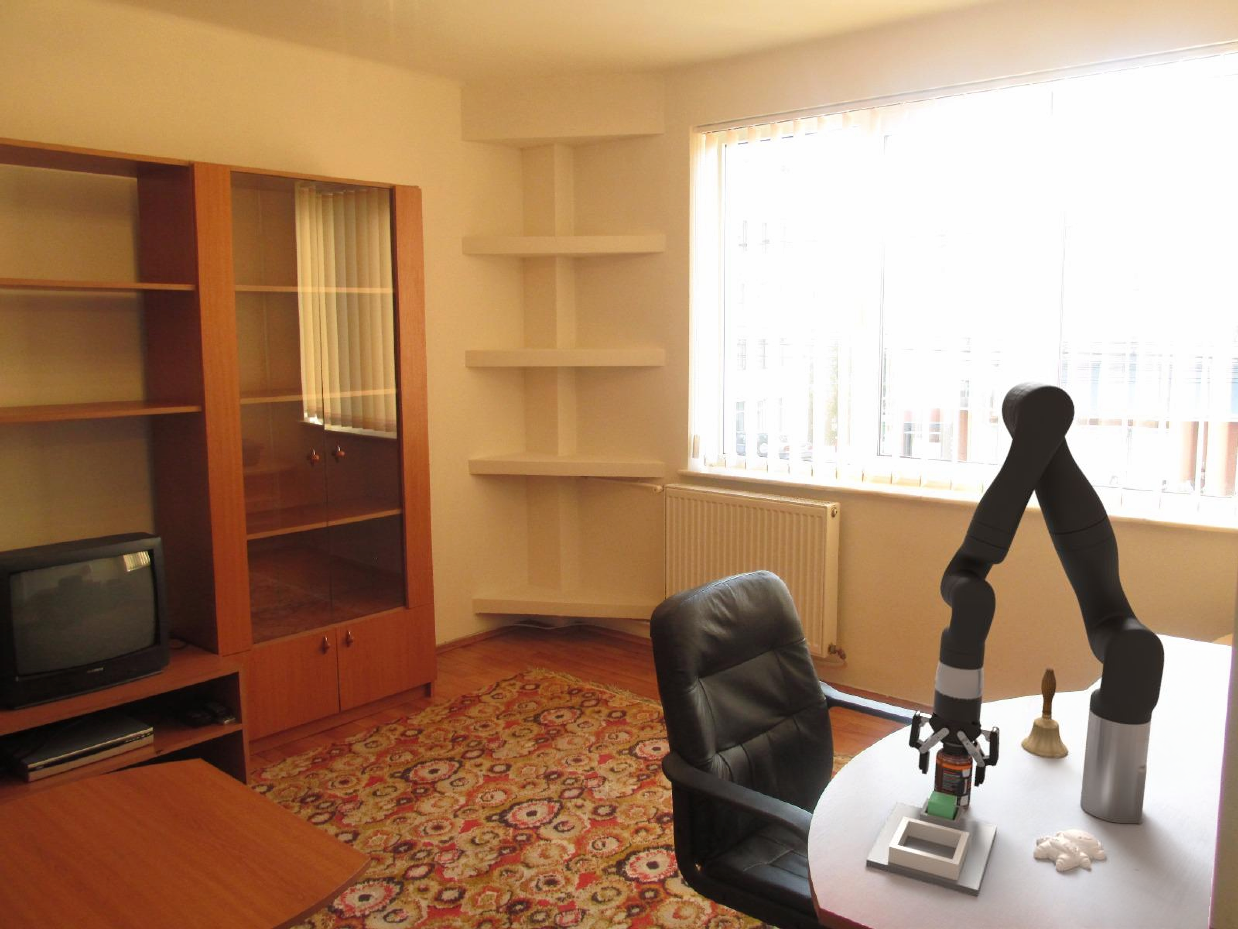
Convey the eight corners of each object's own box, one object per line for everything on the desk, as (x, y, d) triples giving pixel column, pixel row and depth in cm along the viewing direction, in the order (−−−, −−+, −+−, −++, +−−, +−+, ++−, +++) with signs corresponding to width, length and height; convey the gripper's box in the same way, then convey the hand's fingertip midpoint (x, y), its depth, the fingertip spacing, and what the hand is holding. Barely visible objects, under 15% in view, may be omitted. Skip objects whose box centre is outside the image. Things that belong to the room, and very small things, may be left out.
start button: (955, 815, 159) (957, 796, 158) (951, 825, 155) (952, 807, 155) (931, 809, 161) (932, 791, 160) (926, 819, 157) (928, 801, 157)
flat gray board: (996, 832, 158) (997, 811, 158) (977, 896, 141) (979, 874, 140) (895, 807, 166) (897, 787, 165) (866, 865, 148) (867, 844, 148)
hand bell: (1021, 753, 186) (1027, 673, 184) (1021, 736, 194) (1027, 659, 191) (1068, 761, 183) (1076, 680, 181) (1067, 743, 191) (1074, 665, 188)
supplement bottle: (974, 813, 164) (979, 749, 162) (939, 812, 164) (943, 748, 162) (963, 795, 170) (967, 733, 168) (928, 794, 170) (932, 733, 168)
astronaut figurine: (1019, 850, 154) (1020, 832, 153) (1071, 832, 159) (1073, 815, 158) (1066, 879, 146) (1067, 860, 145) (1120, 860, 151) (1121, 841, 151)
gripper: (1006, 689, 164) (997, 780, 166) (919, 672, 170) (912, 759, 173) (1000, 705, 157) (991, 799, 160) (910, 686, 164) (903, 777, 167)
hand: (950, 778), depth 166 cm, fingers open, 8 cm apart
